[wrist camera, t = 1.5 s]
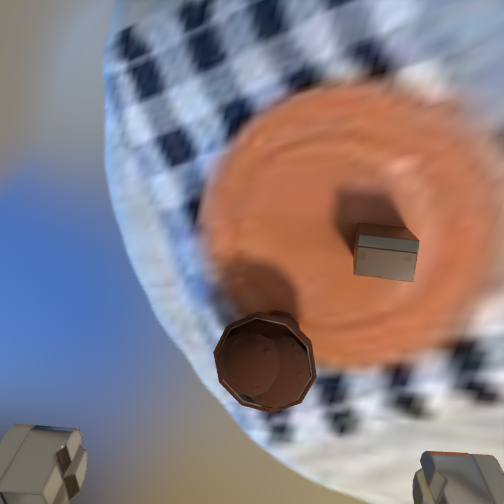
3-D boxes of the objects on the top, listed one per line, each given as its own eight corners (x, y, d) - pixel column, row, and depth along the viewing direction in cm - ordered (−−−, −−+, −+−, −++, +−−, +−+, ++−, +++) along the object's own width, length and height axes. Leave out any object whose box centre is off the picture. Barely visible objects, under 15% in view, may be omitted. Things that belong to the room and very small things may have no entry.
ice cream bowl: (224, 346, 56) (179, 407, 41) (261, 274, 53) (226, 312, 38) (295, 387, 54) (275, 465, 40) (337, 315, 51) (332, 371, 37)
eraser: (357, 222, 49) (358, 233, 40) (407, 227, 48) (419, 240, 39) (353, 256, 50) (353, 274, 41) (402, 262, 48) (413, 282, 40)
